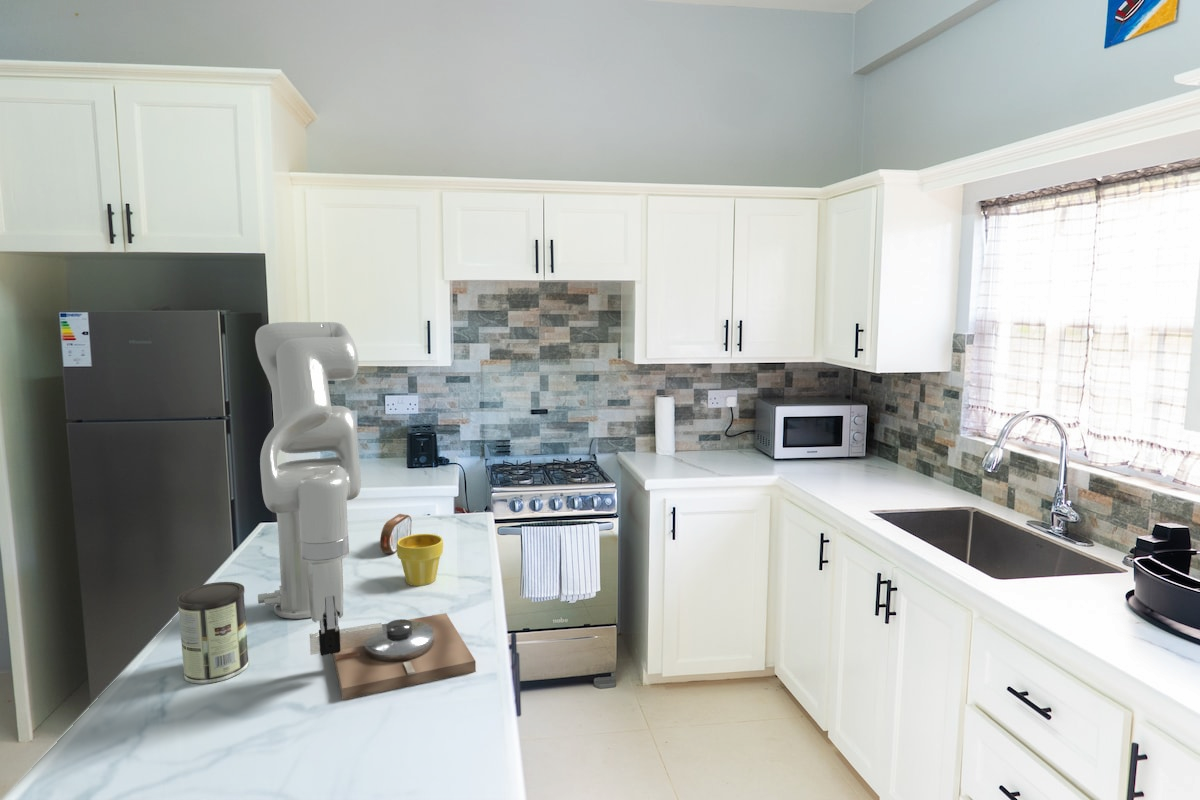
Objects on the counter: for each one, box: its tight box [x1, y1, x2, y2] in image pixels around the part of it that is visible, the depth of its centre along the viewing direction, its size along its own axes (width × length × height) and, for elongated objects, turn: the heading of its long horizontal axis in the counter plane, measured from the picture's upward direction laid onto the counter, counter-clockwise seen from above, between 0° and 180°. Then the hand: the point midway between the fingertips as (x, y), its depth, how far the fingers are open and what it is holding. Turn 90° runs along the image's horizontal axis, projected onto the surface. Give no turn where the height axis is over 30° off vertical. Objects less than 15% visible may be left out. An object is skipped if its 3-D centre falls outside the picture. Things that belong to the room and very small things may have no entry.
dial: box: [309, 619, 434, 662], centre depth 129 cm, size 21×12×4 cm, turn 113°
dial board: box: [332, 612, 477, 701], centre depth 131 cm, size 22×22×2 cm
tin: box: [379, 513, 413, 554], centre depth 191 cm, size 15×3×8 cm, turn 172°
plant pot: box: [396, 533, 444, 587], centre depth 168 cm, size 10×10×10 cm
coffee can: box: [176, 581, 250, 685], centre depth 126 cm, size 10×10×14 cm
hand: (330, 651), depth 124 cm, fingers closed
